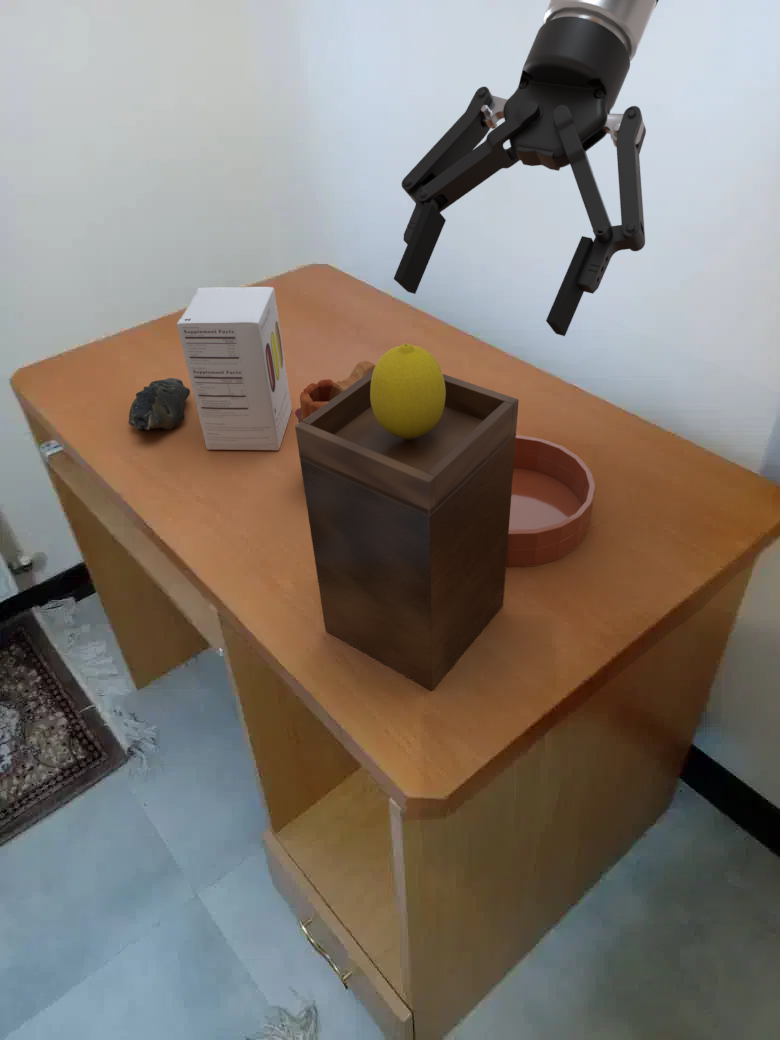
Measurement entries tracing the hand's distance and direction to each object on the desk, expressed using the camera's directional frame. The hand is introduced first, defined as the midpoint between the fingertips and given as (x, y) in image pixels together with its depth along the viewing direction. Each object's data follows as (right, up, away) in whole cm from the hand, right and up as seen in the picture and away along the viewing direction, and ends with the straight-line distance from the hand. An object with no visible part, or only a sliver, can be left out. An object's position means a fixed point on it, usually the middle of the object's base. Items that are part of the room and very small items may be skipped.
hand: (475, 307), depth 61 cm
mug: (-11, -11, +30) cm, 34 cm away
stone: (-36, -3, +41) cm, 55 cm away
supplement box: (-24, -5, +38) cm, 45 cm away
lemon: (-5, -10, 0) cm, 12 cm away
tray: (-5, -11, 0) cm, 12 cm away
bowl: (+6, -16, +24) cm, 29 cm away
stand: (-4, -26, +13) cm, 29 cm away
